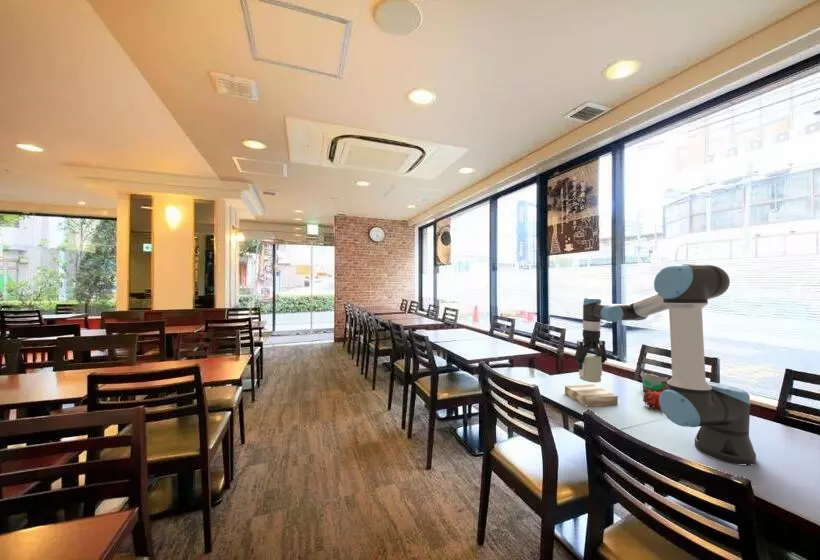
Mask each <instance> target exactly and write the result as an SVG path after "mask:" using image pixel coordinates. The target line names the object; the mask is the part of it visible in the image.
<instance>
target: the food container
mask: <svg viewBox="0 0 820 560" xmlns="http://www.w3.org/2000/svg"><path fill="white" fill-rule="evenodd" d="M640 377H641V380H642V381H641V383H642V391H643V393H645V392H647V391H651V392H652V391H656V392H663V391H664V390H667V381H668V380H669V377H668V376H661V375H660V376H659V375H658V374H657V375H656V374H653V373H647V372H644V370H642V371H641V372H640Z"/></svg>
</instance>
